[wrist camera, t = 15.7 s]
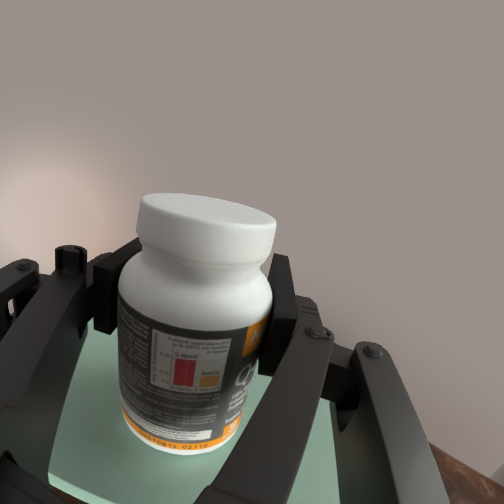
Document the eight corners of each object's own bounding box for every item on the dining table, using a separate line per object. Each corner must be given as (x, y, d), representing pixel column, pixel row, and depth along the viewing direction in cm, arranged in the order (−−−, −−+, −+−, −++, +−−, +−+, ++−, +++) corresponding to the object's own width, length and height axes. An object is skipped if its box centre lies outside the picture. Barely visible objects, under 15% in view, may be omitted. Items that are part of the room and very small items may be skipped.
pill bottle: (249, 459, 11) (323, 243, 8) (116, 455, 10) (108, 211, 7) (226, 378, 16) (267, 204, 14) (125, 370, 15) (137, 183, 12)
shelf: (297, 450, 21) (337, 372, 19) (302, 575, 10) (375, 533, 7) (90, 399, 21) (80, 311, 19) (25, 500, 10) (-30, 419, 7)
